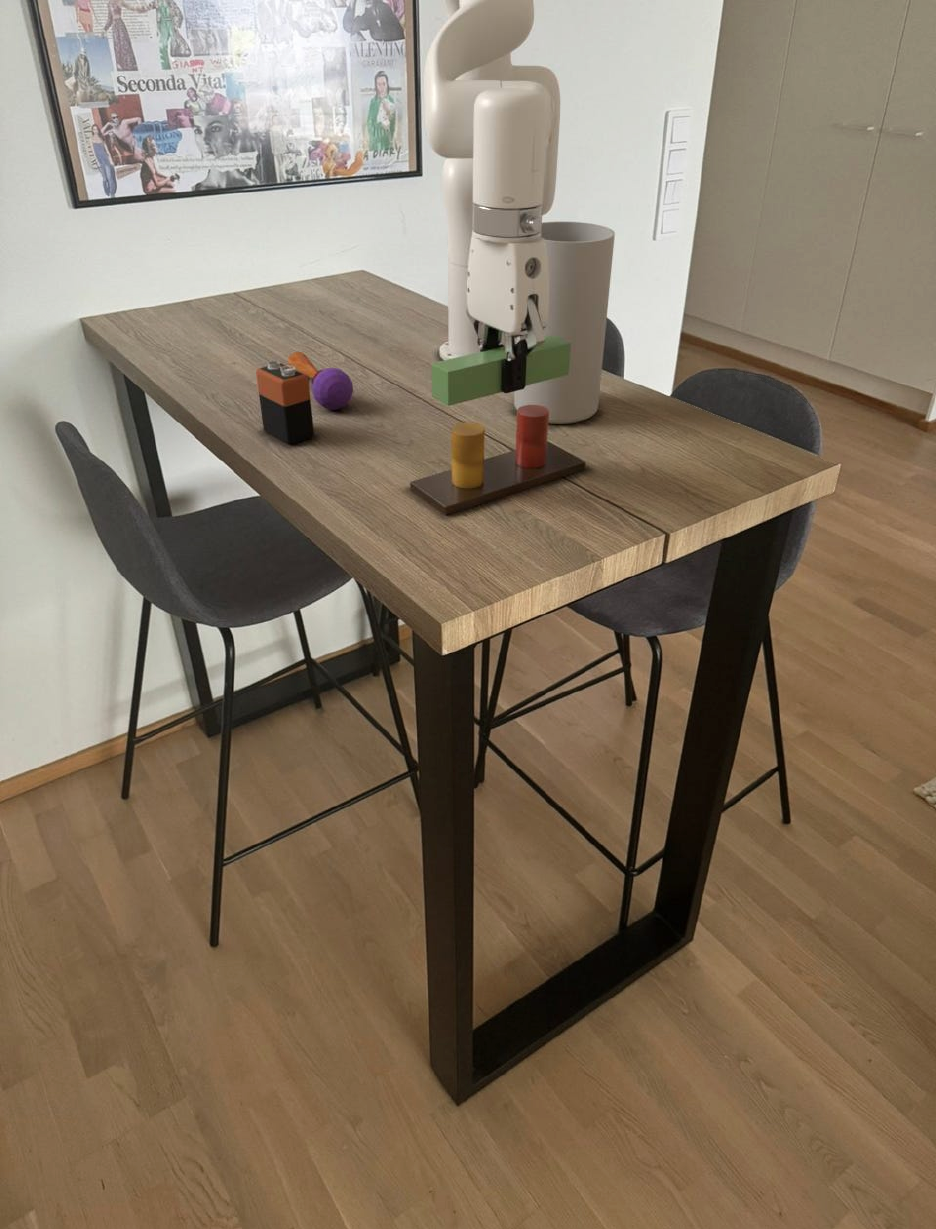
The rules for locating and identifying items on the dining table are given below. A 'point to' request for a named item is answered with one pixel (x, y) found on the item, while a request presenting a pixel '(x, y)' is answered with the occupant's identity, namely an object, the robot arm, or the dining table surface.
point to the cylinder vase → (575, 318)
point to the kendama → (325, 382)
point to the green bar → (495, 371)
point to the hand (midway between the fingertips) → (502, 383)
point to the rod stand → (496, 464)
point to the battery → (285, 402)
